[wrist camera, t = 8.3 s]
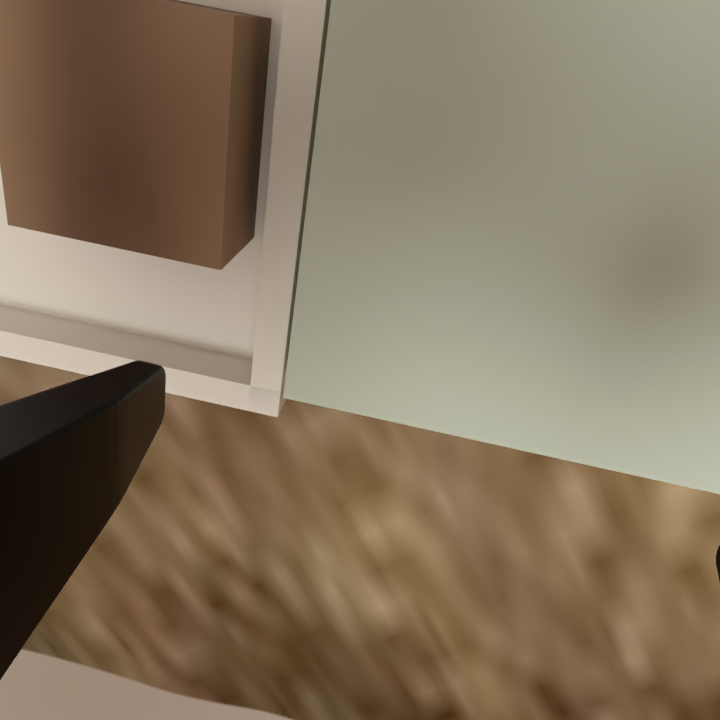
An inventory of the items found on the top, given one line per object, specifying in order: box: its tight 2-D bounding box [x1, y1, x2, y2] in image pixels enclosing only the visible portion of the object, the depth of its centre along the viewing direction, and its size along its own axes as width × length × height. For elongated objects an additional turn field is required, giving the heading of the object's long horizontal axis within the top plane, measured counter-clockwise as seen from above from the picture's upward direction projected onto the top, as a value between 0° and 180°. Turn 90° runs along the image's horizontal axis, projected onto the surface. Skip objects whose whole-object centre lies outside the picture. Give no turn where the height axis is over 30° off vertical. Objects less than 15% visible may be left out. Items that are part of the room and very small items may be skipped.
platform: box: [283, 0, 720, 494], centre depth 16 cm, size 14×14×3 cm
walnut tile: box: [0, 0, 272, 270], centre depth 16 cm, size 6×6×3 cm
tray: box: [0, 0, 331, 417], centre depth 16 cm, size 15×17×3 cm
